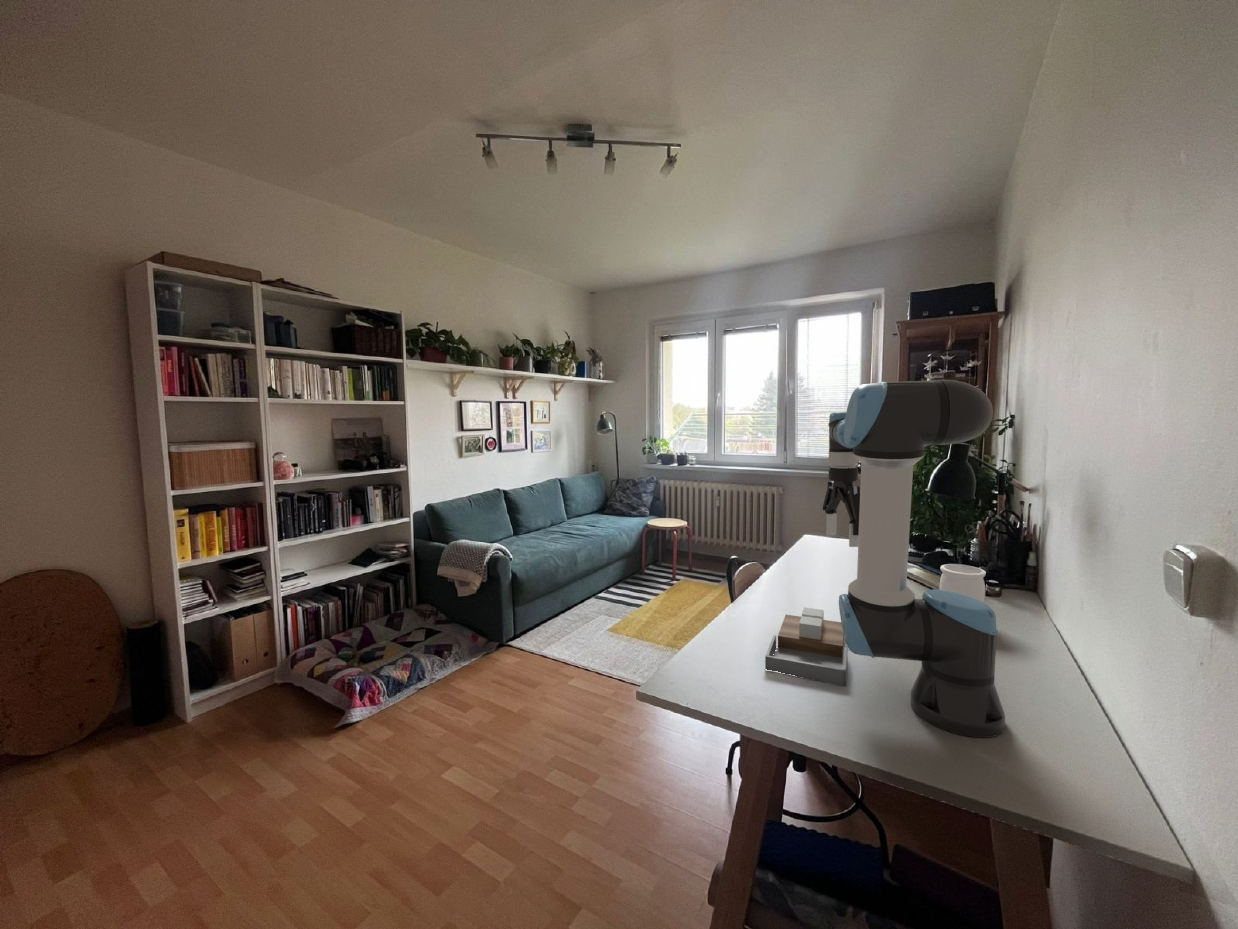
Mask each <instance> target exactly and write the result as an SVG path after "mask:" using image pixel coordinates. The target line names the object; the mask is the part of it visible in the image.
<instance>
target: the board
mask: <svg viewBox="0 0 1238 929" xmlns="http://www.w3.org/2000/svg"><path fill="white" fill-rule="evenodd" d="M800 619H801V616H800V615H791V614H785V616H784V618H783V621H782V623H781V626H780V629H779V631H778V634H777V647H781V648H786V649H792V650H798V651H804V652H810V653H816V654H822V655H828V656H834V657H840V658H844V644H845V643H844V640H845V637H844V633H843V629H842V623H841V622H840V621H836V620H835V621H834V620H827V619H824V623H823V629H822V635H821V640H818V639H811V638H805V637H799V623H800Z"/></svg>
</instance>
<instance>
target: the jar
mask: <svg viewBox="0 0 1238 929" xmlns="http://www.w3.org/2000/svg"><path fill="white" fill-rule="evenodd" d="M939 569H940V571H941V572H942V574H940V579H939V580H940V581H939V590H944V591H950V592H954V593H958V594H962V595H966V596H969V597H971V598H974V599H977V600H979V601H981V602H983V603H985V598H986V585H985V579H984V577H986V573H987V572H986V571H985V570H984V569H982V568H979V567H975V566H971V565H967V564H959V563H948V564H942V565H940V568H939Z"/></svg>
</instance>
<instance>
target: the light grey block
mask: <svg viewBox="0 0 1238 929" xmlns="http://www.w3.org/2000/svg"><path fill="white" fill-rule="evenodd" d="M800 617H801V619H800V623H799V637H805V638H811V639H818V640H821V635H822V619H819V618H812V617H805V616H802V615H801V616H800Z"/></svg>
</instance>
